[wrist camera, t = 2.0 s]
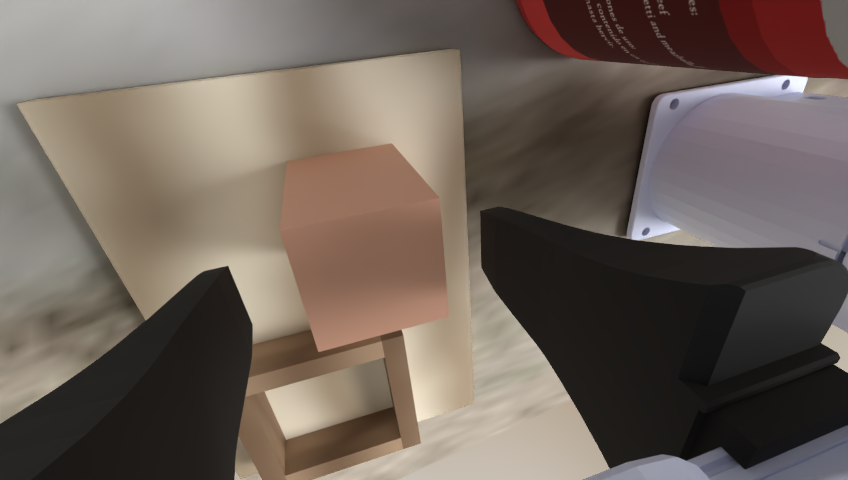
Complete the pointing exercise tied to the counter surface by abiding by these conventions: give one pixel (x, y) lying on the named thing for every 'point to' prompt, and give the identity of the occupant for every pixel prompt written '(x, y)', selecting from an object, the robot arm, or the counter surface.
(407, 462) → the counter surface
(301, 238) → the block
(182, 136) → the board
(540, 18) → the canned food
